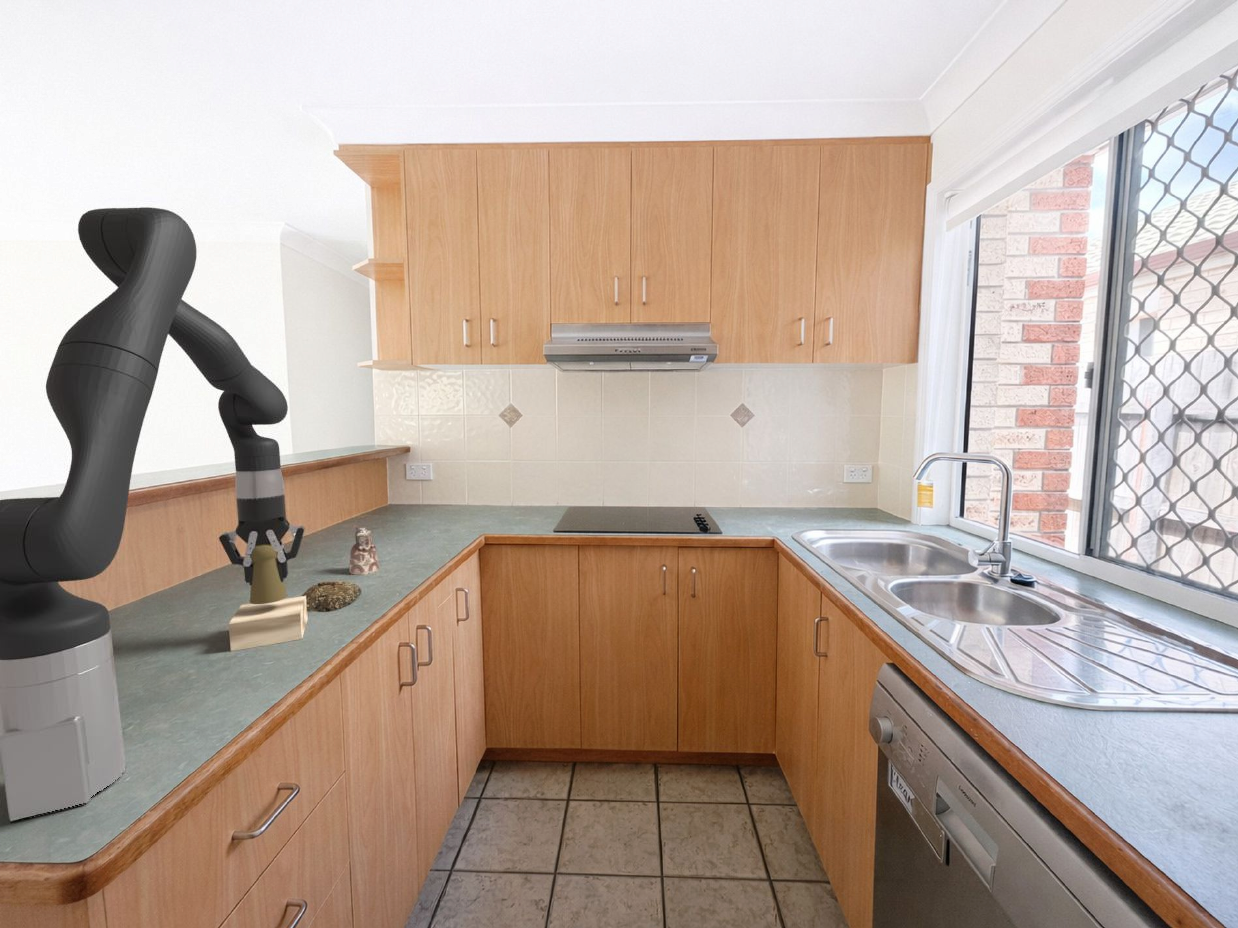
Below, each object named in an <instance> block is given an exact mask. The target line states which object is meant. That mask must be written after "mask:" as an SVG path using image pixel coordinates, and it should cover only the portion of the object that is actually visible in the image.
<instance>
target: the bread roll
mask: <svg viewBox="0 0 1238 928" xmlns="http://www.w3.org/2000/svg"><path fill="white" fill-rule="evenodd" d="M361 594H362V589H361V588H360V587H359V586H358V585H357V584H356V583H352V582H349V581H344V580H331V581H329V580H327V581H322V582H318V583H317V584H315V585H312V586H311V587H309V588H307V590H305V592H304V593H303V594H301V595H300V596H306V602H307V613H308V612H321V613H322V612H323V613H325V612H333V611H338V610H340V609H342V608H345V607H346V606H349V605H350V604H351V603H353V602H355V601H356V600H357V599H358V597H360V595H361Z"/></svg>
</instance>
